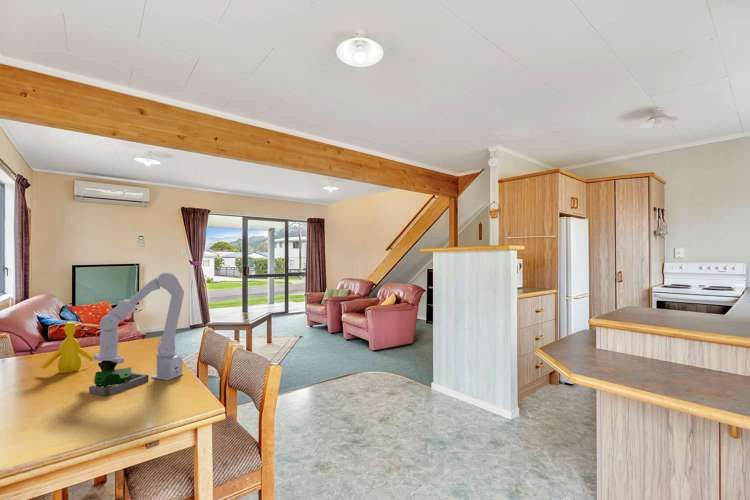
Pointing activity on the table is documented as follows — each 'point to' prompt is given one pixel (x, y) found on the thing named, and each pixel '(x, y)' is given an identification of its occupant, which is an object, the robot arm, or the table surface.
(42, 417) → the table surface
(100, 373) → the clamp
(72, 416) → the table surface
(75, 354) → the figure statuette
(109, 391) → the tool bay
